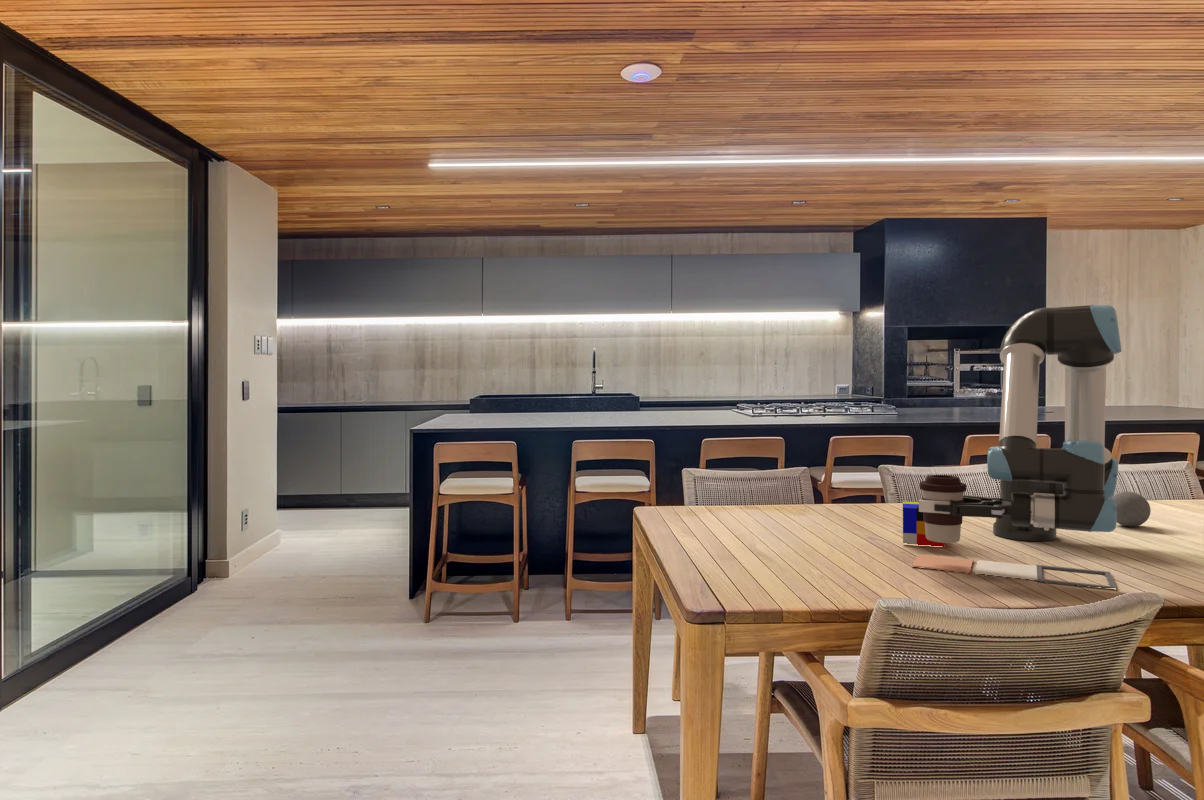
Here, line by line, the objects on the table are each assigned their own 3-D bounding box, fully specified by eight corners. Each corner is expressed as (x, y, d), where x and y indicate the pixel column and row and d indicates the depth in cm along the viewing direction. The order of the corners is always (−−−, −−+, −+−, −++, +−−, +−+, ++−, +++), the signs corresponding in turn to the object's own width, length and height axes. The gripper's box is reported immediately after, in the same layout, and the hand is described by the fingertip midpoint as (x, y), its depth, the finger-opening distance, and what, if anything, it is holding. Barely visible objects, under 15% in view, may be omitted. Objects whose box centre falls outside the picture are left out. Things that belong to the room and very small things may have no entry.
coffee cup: (921, 543, 170) (920, 478, 169) (918, 534, 179) (918, 473, 179) (968, 546, 166) (968, 479, 166) (963, 537, 176) (963, 474, 175)
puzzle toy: (903, 545, 194) (902, 507, 193) (902, 537, 203) (902, 501, 202) (944, 548, 190) (944, 509, 189) (942, 540, 199) (942, 503, 199)
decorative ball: (1124, 530, 207) (1124, 494, 207) (1099, 523, 217) (1099, 489, 217) (1159, 529, 207) (1159, 494, 207) (1133, 522, 217) (1133, 488, 217)
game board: (911, 568, 170) (911, 566, 170) (919, 555, 182) (919, 553, 182) (1116, 590, 151) (1116, 588, 151) (1109, 574, 163) (1109, 571, 163)
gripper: (1031, 535, 154) (915, 526, 166) (1031, 518, 173) (926, 511, 184) (1032, 500, 154) (915, 493, 165) (1031, 486, 173) (926, 481, 184)
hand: (921, 502), depth 175 cm, fingers closed on coffee cup, 9 cm apart
